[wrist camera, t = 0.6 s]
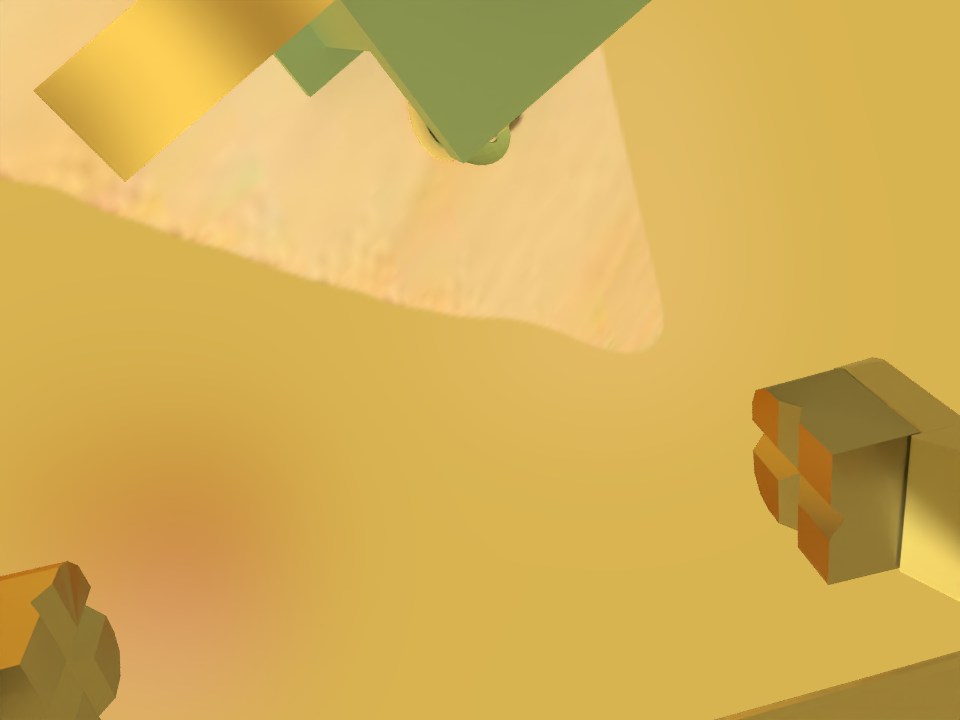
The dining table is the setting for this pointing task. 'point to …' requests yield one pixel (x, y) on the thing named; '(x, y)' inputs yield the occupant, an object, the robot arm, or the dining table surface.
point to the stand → (457, 54)
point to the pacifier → (482, 157)
